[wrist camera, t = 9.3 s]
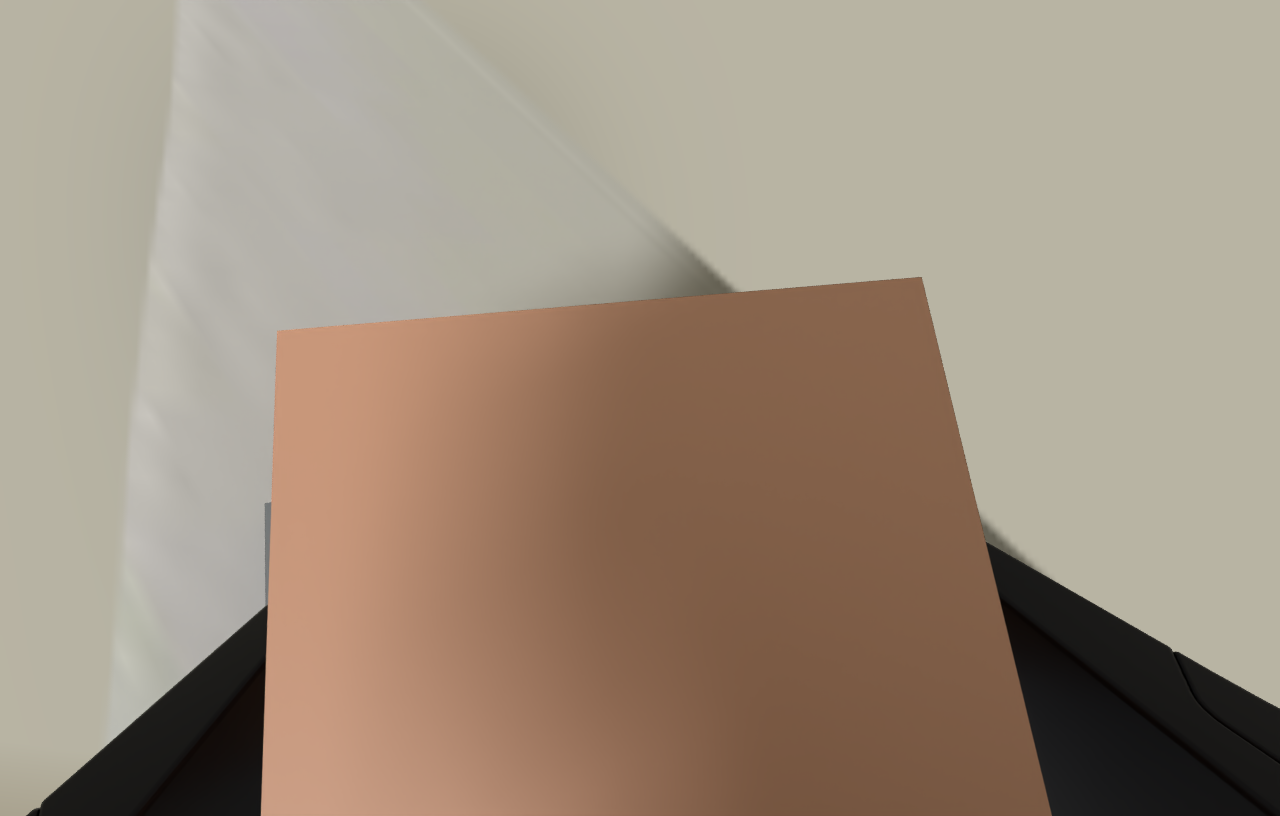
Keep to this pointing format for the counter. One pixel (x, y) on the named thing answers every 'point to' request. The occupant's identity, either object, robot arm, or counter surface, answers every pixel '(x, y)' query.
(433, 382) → the column
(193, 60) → the counter surface
